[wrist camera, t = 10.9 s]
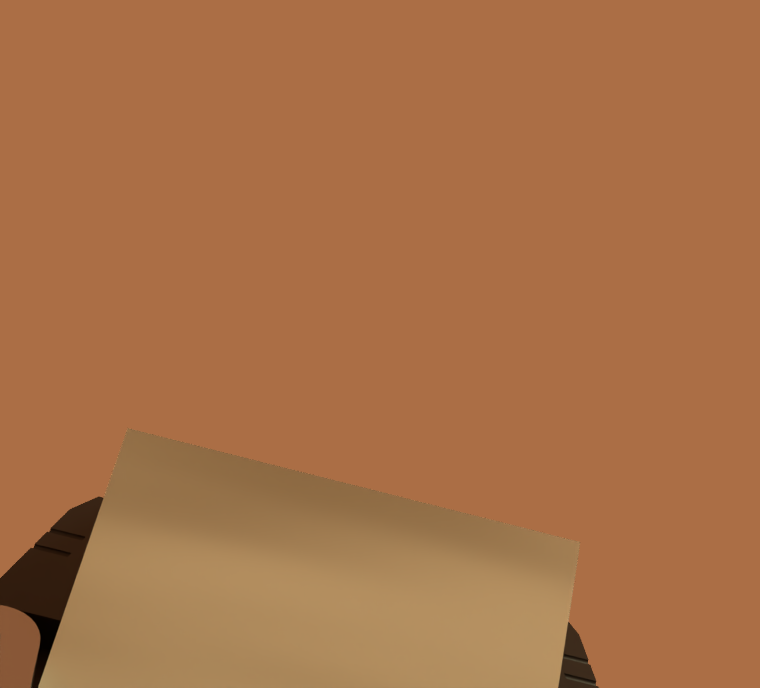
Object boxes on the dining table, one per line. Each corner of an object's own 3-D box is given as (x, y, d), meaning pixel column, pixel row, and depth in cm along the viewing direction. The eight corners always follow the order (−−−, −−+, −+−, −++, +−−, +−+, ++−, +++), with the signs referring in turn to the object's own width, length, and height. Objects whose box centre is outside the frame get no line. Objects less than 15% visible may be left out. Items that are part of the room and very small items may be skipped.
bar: (241, 618, 29) (273, 501, 30) (354, 645, 29) (381, 528, 30) (-67, 989, 6) (127, 428, 7) (492, 1120, 6) (580, 541, 7)
